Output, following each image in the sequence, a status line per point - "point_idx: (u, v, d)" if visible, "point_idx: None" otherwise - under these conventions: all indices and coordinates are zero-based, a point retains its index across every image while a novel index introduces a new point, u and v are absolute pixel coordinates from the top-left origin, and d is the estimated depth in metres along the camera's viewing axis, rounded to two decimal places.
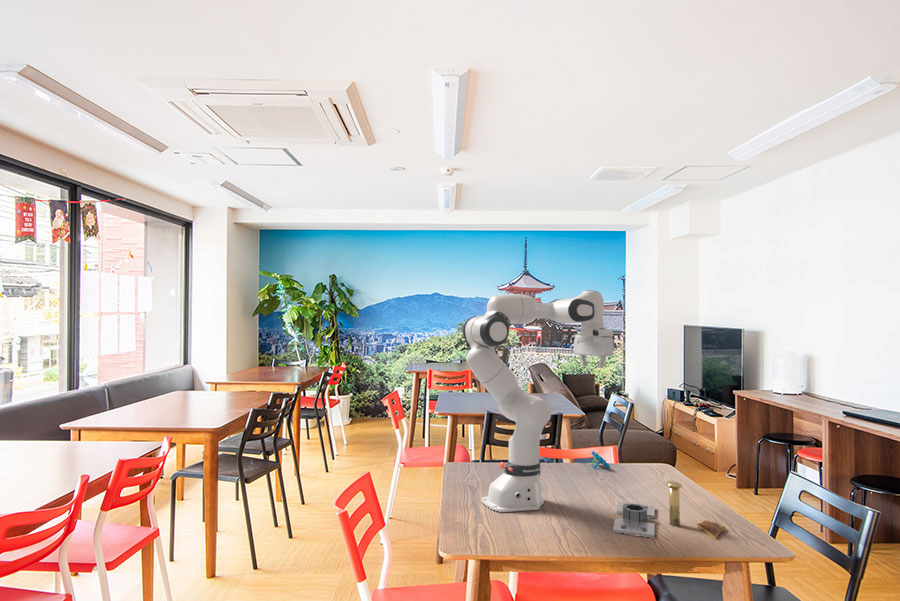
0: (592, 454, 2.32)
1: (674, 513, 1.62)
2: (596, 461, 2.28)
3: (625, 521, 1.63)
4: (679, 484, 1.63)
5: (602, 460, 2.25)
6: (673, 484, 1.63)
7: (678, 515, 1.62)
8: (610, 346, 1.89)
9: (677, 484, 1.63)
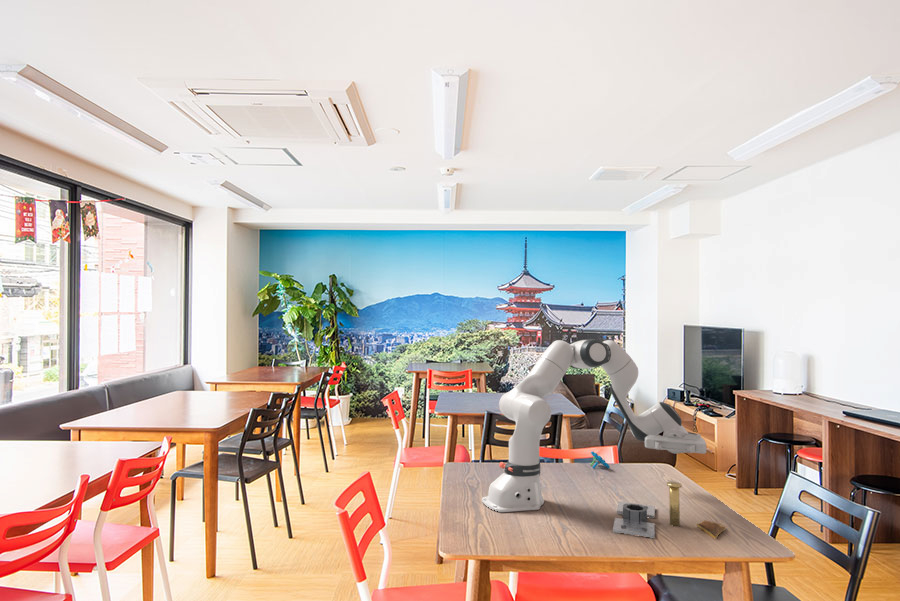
0: (592, 454, 2.32)
1: (674, 513, 1.62)
2: (596, 461, 2.28)
3: (625, 521, 1.63)
4: (679, 484, 1.63)
5: (601, 460, 2.25)
6: (673, 484, 1.63)
7: (678, 515, 1.62)
8: None
9: (677, 484, 1.63)
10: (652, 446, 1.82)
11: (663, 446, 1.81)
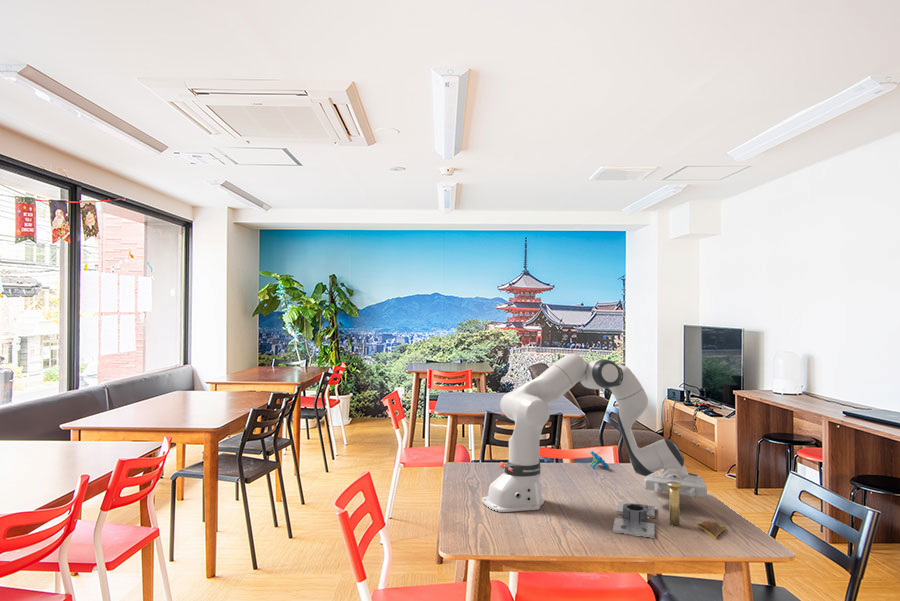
0: (592, 454, 2.32)
1: (674, 513, 1.62)
2: (595, 461, 2.28)
3: (625, 521, 1.63)
4: (679, 484, 1.63)
5: None
6: (673, 484, 1.63)
7: (678, 515, 1.62)
8: None
9: (677, 484, 1.63)
10: (651, 488, 1.78)
11: (663, 488, 1.78)
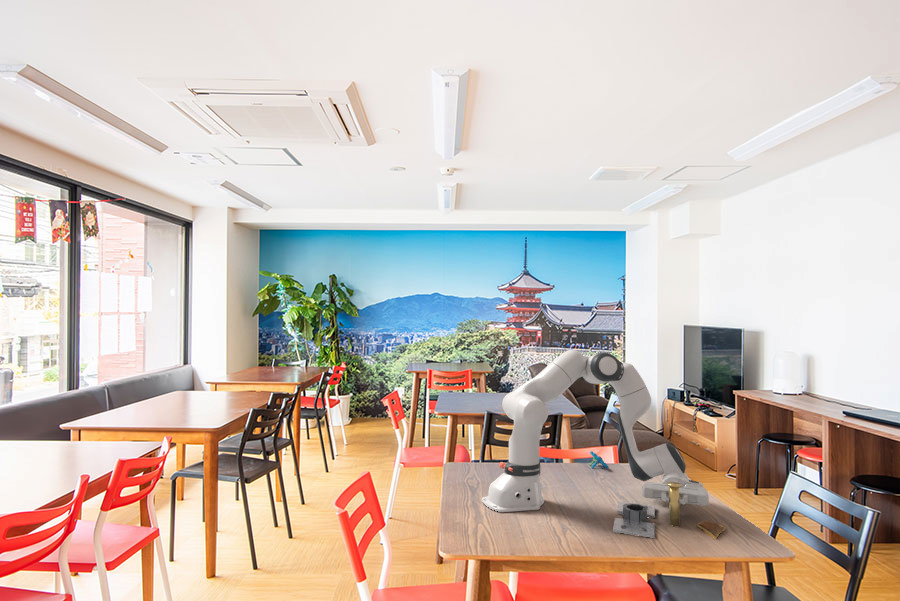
0: None
1: (674, 513, 1.62)
2: (595, 461, 2.28)
3: (625, 521, 1.63)
4: (679, 484, 1.63)
5: (600, 460, 2.25)
6: (673, 484, 1.63)
7: (678, 515, 1.62)
8: None
9: (677, 484, 1.63)
10: (650, 496, 1.70)
11: None
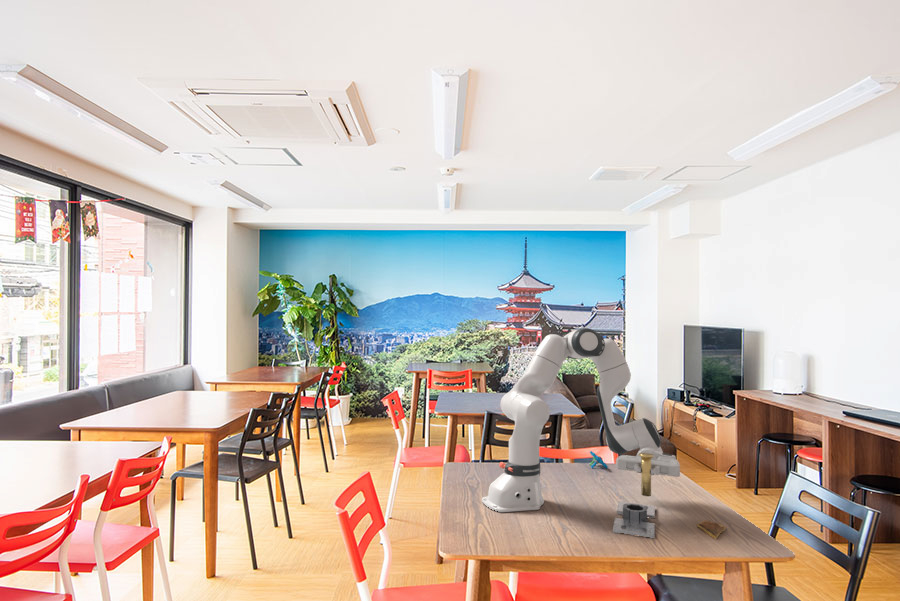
0: (591, 454, 2.32)
1: (645, 483, 1.64)
2: (594, 461, 2.28)
3: (625, 521, 1.63)
4: (651, 455, 1.65)
5: None
6: (645, 455, 1.65)
7: (649, 485, 1.64)
8: None
9: (649, 455, 1.65)
10: (624, 467, 1.72)
11: None
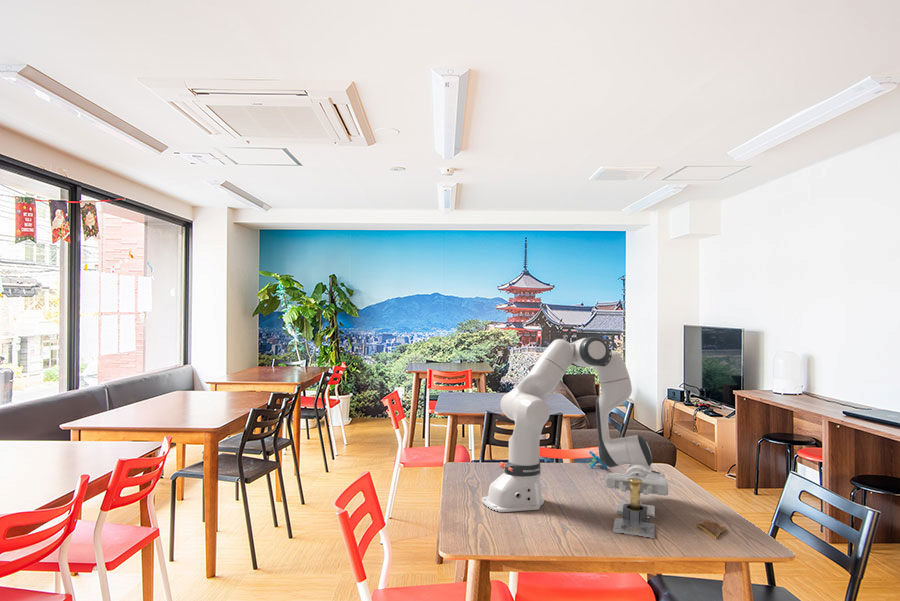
0: None
1: (634, 508, 1.65)
2: (594, 461, 2.28)
3: (625, 521, 1.63)
4: (640, 480, 1.66)
5: None
6: (634, 480, 1.66)
7: (638, 510, 1.66)
8: None
9: (638, 480, 1.66)
10: (613, 486, 1.74)
11: None
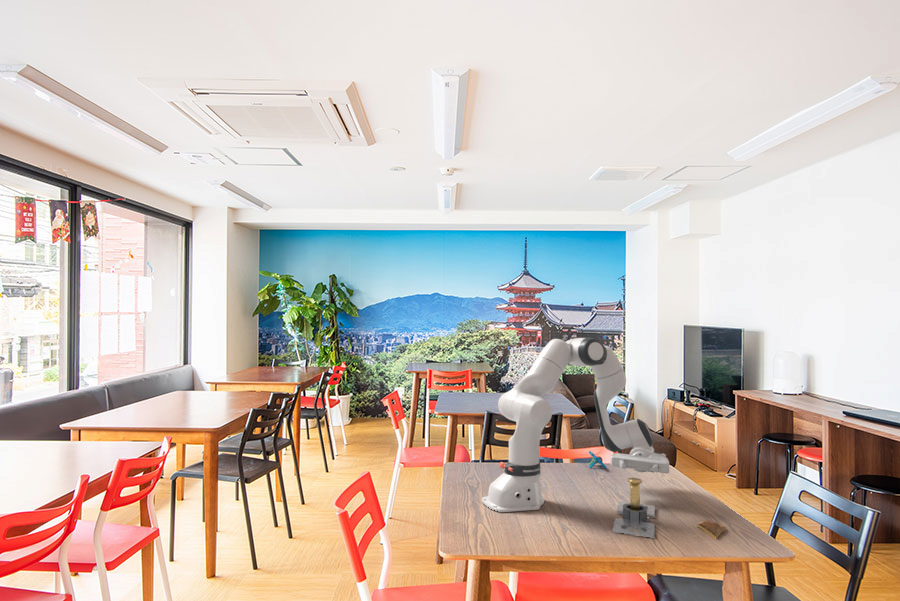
0: (590, 454, 2.32)
1: (634, 508, 1.65)
2: (593, 461, 2.28)
3: (625, 521, 1.63)
4: (639, 480, 1.66)
5: None
6: (633, 480, 1.66)
7: (638, 510, 1.66)
8: None
9: (637, 480, 1.66)
10: (617, 464, 1.85)
11: (628, 465, 1.84)
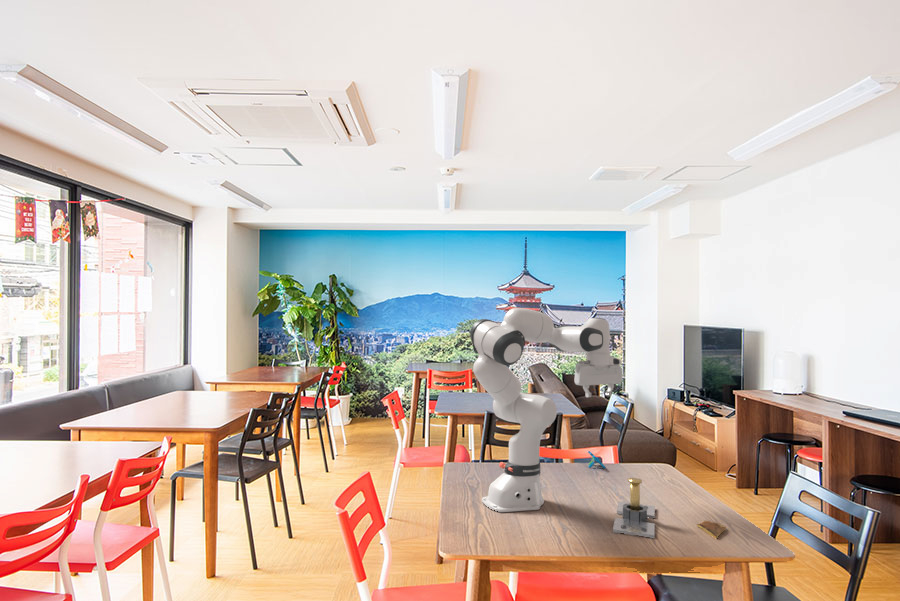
0: None
1: (634, 508, 1.65)
2: (592, 461, 2.29)
3: (625, 521, 1.63)
4: (639, 480, 1.66)
5: None
6: (634, 480, 1.66)
7: (638, 510, 1.66)
8: None
9: (637, 480, 1.66)
10: None
11: None
